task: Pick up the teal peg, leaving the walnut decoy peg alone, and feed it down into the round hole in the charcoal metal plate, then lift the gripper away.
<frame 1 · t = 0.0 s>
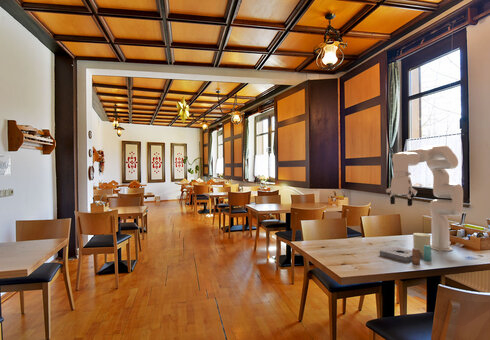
hand: (401, 204, 163), 31 cm above the table, tool pointing down, fingers open, 9 cm apart
can: (421, 253, 177), on the table
socket plate: (400, 256, 170), on the table
walnut peg: (416, 264, 156), on the table
teal peg: (427, 260, 163), on the table
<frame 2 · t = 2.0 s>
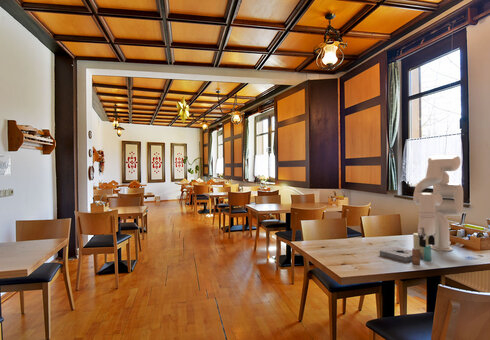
hand: (427, 245, 162), 8 cm above the table, tool pointing down, fingers open, 9 cm apart
nothing on the table moved.
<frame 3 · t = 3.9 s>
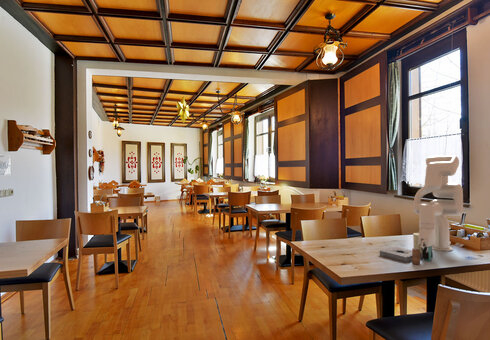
hand: (427, 258, 163), 1 cm above the table, tool pointing down, fingers closed on teal peg, 3 cm apart
teal peg: (427, 260, 163), on the table, touching gripper
everything else where it was.
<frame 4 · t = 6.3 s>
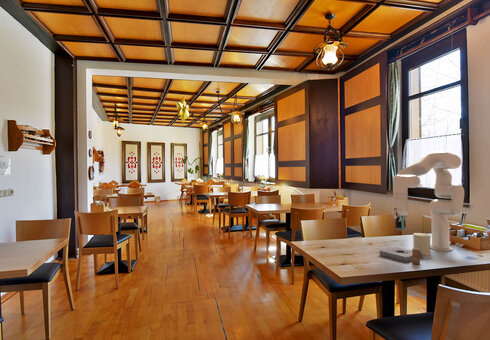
hand: (400, 227, 170), 17 cm above the table, tool pointing down, fingers closed on teal peg, 3 cm apart
teal peg: (400, 229, 170), point 16 cm above the table, touching gripper
everything else where it was.
when the fingers open (4 cm above the table, at t = 8.8 s): teal peg drops 2 cm, resting in socket plate.
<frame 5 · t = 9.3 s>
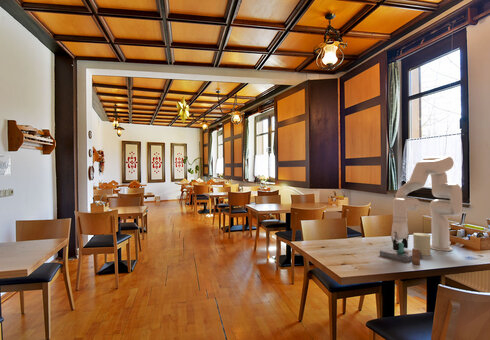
hand: (400, 248, 170), 5 cm above the table, tool pointing down, fingers open, 8 cm apart
teal peg: (400, 256, 170), resting in socket plate
everything else where it was.
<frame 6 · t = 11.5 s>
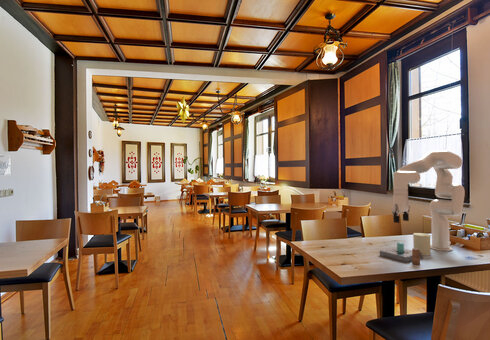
hand: (401, 221, 170), 21 cm above the table, tool pointing down, fingers open, 9 cm apart
nothing on the table moved.
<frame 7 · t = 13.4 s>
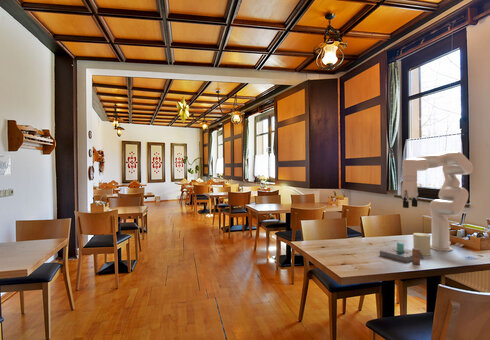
hand: (410, 207, 176), 28 cm above the table, tool pointing down, fingers open, 9 cm apart
nothing on the table moved.
at the end: teal peg 0.1 cm off-centre on the socket plate, point 0.0 cm above the socket plate's base; teal peg tilted 0°; walnut peg moved 0.0 cm from its start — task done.
